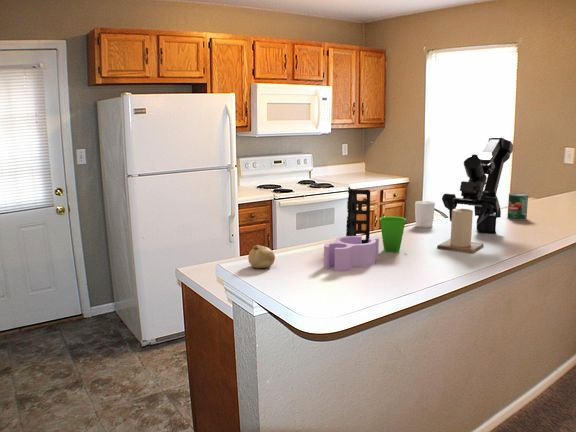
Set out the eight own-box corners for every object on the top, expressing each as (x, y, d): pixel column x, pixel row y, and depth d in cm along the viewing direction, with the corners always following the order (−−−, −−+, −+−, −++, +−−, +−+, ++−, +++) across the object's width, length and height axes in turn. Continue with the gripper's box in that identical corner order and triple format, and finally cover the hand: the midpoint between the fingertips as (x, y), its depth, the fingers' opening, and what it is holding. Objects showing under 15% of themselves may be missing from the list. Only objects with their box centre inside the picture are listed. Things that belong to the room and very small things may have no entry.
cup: (406, 248, 176) (407, 217, 174) (403, 255, 167) (404, 222, 165) (380, 246, 179) (381, 215, 177) (376, 253, 170) (376, 220, 168)
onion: (261, 262, 161) (260, 240, 159) (280, 266, 156) (280, 243, 154) (243, 267, 154) (242, 245, 153) (262, 272, 149) (262, 249, 148)
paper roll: (454, 241, 181) (456, 208, 179) (472, 243, 177) (474, 209, 175) (448, 244, 176) (450, 210, 174) (466, 247, 172) (468, 212, 170)
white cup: (432, 224, 216) (433, 201, 215) (435, 228, 209) (436, 204, 207) (413, 224, 217) (413, 200, 215) (415, 227, 209) (416, 203, 208)
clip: (347, 274, 147) (347, 251, 146) (314, 266, 156) (314, 244, 154) (385, 260, 162) (385, 239, 160) (352, 254, 170) (353, 233, 169)
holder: (375, 244, 182) (377, 188, 179) (363, 248, 177) (364, 190, 173) (350, 239, 190) (351, 186, 186) (338, 243, 184) (338, 188, 181)
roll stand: (449, 241, 185) (450, 226, 184) (483, 246, 178) (484, 230, 177) (437, 248, 176) (437, 232, 175) (472, 253, 169) (473, 237, 168)
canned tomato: (527, 218, 228) (529, 193, 226) (525, 220, 222) (527, 195, 220) (508, 216, 233) (510, 192, 231) (505, 219, 226) (507, 194, 224)
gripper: (444, 171, 184) (432, 206, 177) (499, 173, 173) (487, 211, 166) (451, 190, 191) (439, 224, 185) (503, 193, 180) (493, 230, 174)
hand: (463, 222), depth 177 cm, fingers open, 9 cm apart
